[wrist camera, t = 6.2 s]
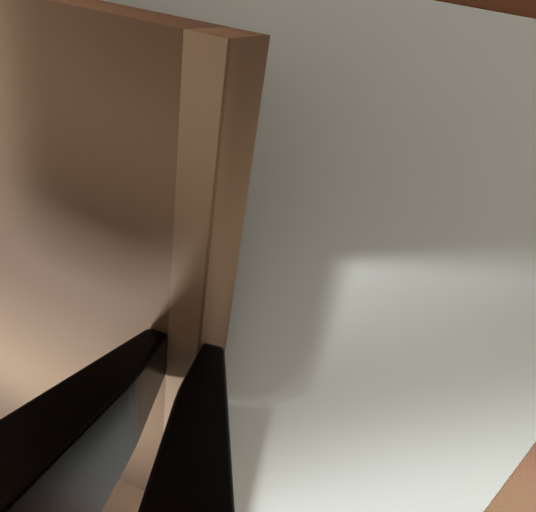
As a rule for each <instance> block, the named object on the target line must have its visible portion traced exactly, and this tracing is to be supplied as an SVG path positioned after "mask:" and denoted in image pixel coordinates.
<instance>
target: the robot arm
mask: <svg viewBox="0 0 536 512" xmlns="http://www.w3.org/2000/svg"><path fill="white" fill-rule="evenodd" d="M167 347H168V335H167V334H166V333H165V332H161V331H158V330H154V329H147V330H144V331H143V332H141V333H139V334H138V335H136V336H135V337H133V338H131V339H130V340H128V341H126V342H125V343H123V344H122V345H120V346H118V347H117V348H115V349H113V350H112V351H110V352H109V353H107V354H105V355H104V356H102V357H100V358H99V359H97V360H96V361H94V362H92V363H91V364H89V365H87V366H86V367H84V368H83V369H81V370H79V371H78V372H76V373H74V374H73V375H71V376H70V377H68V378H66V379H65V380H63V381H62V382H60V383H58V384H57V385H55V386H53V387H52V388H50V389H49V390H47V391H45V392H44V393H42V394H40V395H39V396H37V397H36V398H34V399H32V400H31V401H29V402H27V403H26V404H24V405H23V406H21V407H19V408H18V409H16V410H14V411H13V412H11V413H10V414H8V415H6V416H5V417H3V418H1V419H0V512H102V510H103V508H104V506H105V504H106V503H107V501H108V499H109V497H110V495H111V493H112V491H113V490H114V488H115V486H116V484H117V482H118V480H119V478H120V477H121V475H122V473H123V471H124V469H125V467H126V465H127V464H128V462H129V460H130V458H131V456H132V454H133V452H134V450H135V448H136V446H137V443H138V441H139V438H140V436H141V434H142V431H143V429H144V426H145V424H146V421H147V419H148V416H149V414H150V411H151V409H152V406H153V404H154V402H155V399H156V397H157V394H158V392H159V389H160V387H161V384H162V382H163V379H164V377H165V374H166V367H167ZM138 512H235V504H234V489H233V473H232V457H231V442H230V426H229V411H228V395H227V379H226V364H225V350H224V348H223V347H221V346H217V345H213V344H209V343H205V344H203V345H202V347H201V348H200V350H199V352H198V354H197V356H196V358H195V359H194V361H193V363H192V365H191V367H190V369H189V370H188V372H187V374H186V376H185V378H184V379H183V381H182V383H181V385H180V387H179V389H178V391H177V394H176V397H175V399H174V402H173V405H172V409H171V412H170V415H169V418H168V421H167V424H166V427H165V430H164V433H163V436H162V439H161V442H160V445H159V448H158V451H157V455H156V458H155V461H154V464H153V467H152V470H151V473H150V476H149V479H148V482H147V485H146V488H145V491H144V494H143V498H142V501H141V504H140V507H139V510H138Z"/></svg>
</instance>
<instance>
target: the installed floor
mask: <svg viewBox="0 0 536 512" xmlns="http://www.w3.org/2000/svg"><path fill="white" fill-rule="evenodd" d="M102 1H107V2H112V3H117V4H121V5H126V6H131V7H136V8H141V9H146V10H150V11H155V12H160V13H165V14H170V15H175V16H180V17H184V18H189V19H194V20H199V21H204V22H209V23H213V24H218V25H223V26H228V27H233V28H238V29H243V30H247V31H252V32H257V33H262V34H267V35H270V41H269V48H268V55H267V62H266V69H265V76H264V83H263V90H262V97H261V104H260V111H259V118H258V125H257V132H256V139H255V146H254V153H253V160H252V167H251V174H250V181H249V188H248V195H247V202H246V209H245V216H244V223H243V230H242V237H241V244H240V251H239V258H238V265H237V272H236V279H235V286H234V293H233V300H232V307H231V314H230V321H229V328H228V335H227V342H226V349H225V364H226V379H227V395H228V411H229V426H230V442H231V457H232V473H233V489H234V504H235V512H484V510H485V509H486V507H487V506H488V505H489V503H490V502H491V501H492V499H493V498H494V497H495V495H496V494H497V493H498V491H499V490H500V489H501V487H502V486H503V485H504V483H505V482H506V481H507V479H508V478H509V477H510V475H511V474H512V473H513V471H514V470H515V469H516V467H517V466H518V465H519V463H520V462H521V461H522V459H523V458H524V456H525V455H526V454H527V452H528V451H529V450H530V448H531V447H532V446H533V444H534V443H535V442H536V19H534V18H528V17H523V16H517V15H512V14H506V13H501V12H495V11H490V10H484V9H479V8H473V7H468V6H462V5H457V4H451V3H446V2H440V1H435V0H102Z"/></svg>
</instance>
